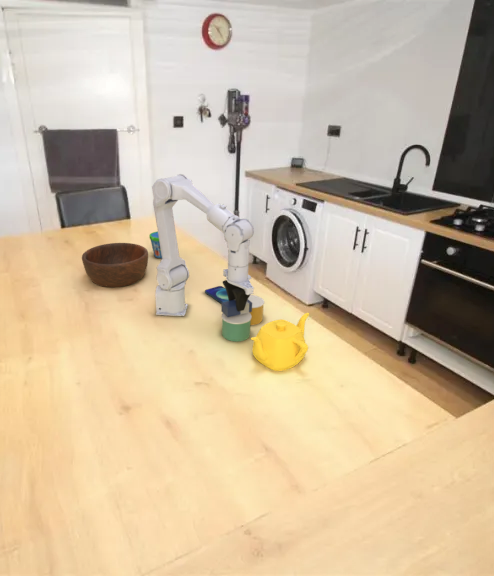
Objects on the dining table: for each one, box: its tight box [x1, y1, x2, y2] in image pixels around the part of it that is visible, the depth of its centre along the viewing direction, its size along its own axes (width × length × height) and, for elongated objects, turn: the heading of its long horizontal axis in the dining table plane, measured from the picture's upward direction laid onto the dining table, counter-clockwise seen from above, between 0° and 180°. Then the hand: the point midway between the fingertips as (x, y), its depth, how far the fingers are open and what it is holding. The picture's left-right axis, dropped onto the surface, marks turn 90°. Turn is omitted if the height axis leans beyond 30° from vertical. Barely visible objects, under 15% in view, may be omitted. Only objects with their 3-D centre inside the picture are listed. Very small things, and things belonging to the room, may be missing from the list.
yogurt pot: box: [221, 312, 251, 343], centre depth 122 cm, size 9×9×6 cm
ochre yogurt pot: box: [248, 294, 265, 326], centre depth 130 cm, size 9×9×6 cm
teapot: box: [250, 312, 310, 372], centre depth 109 cm, size 22×16×11 cm
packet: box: [220, 300, 252, 317], centre depth 119 cm, size 8×4×3 cm, turn 114°
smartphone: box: [204, 285, 229, 305], centre depth 145 cm, size 8×1×15 cm
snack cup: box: [148, 230, 162, 259], centre depth 181 cm, size 16×10×10 cm
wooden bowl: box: [81, 242, 149, 288], centre depth 159 cm, size 25×25×10 cm
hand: (236, 306), depth 119 cm, fingers closed on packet, 4 cm apart
